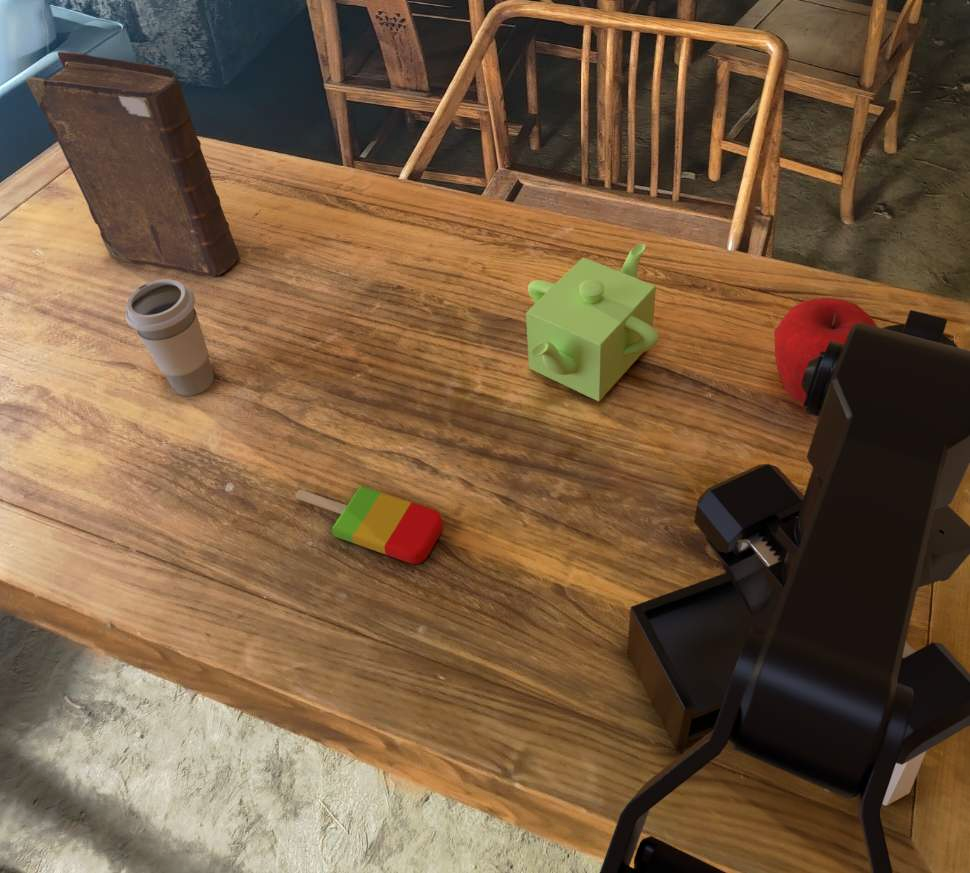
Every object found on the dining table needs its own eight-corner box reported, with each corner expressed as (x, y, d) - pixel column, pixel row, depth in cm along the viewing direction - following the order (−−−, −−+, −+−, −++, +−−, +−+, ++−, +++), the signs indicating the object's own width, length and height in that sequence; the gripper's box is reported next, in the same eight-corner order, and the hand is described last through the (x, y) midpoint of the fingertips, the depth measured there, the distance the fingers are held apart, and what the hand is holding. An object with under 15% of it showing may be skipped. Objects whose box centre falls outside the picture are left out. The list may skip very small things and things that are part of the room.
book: (247, 256, 116) (183, 67, 98) (213, 291, 112) (140, 101, 94) (144, 229, 122) (65, 44, 103) (108, 261, 118) (19, 75, 99)
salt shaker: (899, 732, 71) (941, 665, 63) (923, 804, 67) (972, 743, 59) (827, 737, 71) (861, 670, 63) (848, 808, 68) (886, 748, 59)
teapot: (639, 309, 105) (644, 232, 96) (679, 392, 96) (689, 315, 88) (507, 335, 103) (501, 259, 95) (535, 422, 95) (532, 346, 87)
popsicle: (422, 569, 84) (419, 558, 83) (283, 520, 89) (278, 508, 87) (448, 523, 87) (446, 511, 86) (313, 478, 92) (309, 466, 91)
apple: (744, 383, 96) (760, 303, 88) (814, 346, 99) (836, 265, 91) (812, 443, 90) (836, 363, 82) (885, 402, 93) (915, 321, 85)
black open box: (836, 689, 74) (857, 643, 68) (676, 751, 71) (685, 709, 66) (775, 598, 79) (791, 548, 74) (626, 653, 77) (630, 606, 71)
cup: (203, 350, 106) (168, 266, 96) (236, 377, 102) (203, 294, 93) (149, 383, 103) (108, 301, 93) (181, 413, 99) (142, 330, 90)
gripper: (1120, 598, 45) (1007, 731, 57) (856, 363, 56) (808, 514, 68) (940, 700, 42) (861, 817, 54) (702, 432, 54) (679, 576, 65)
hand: (800, 664), depth 60 cm, fingers open, 9 cm apart
